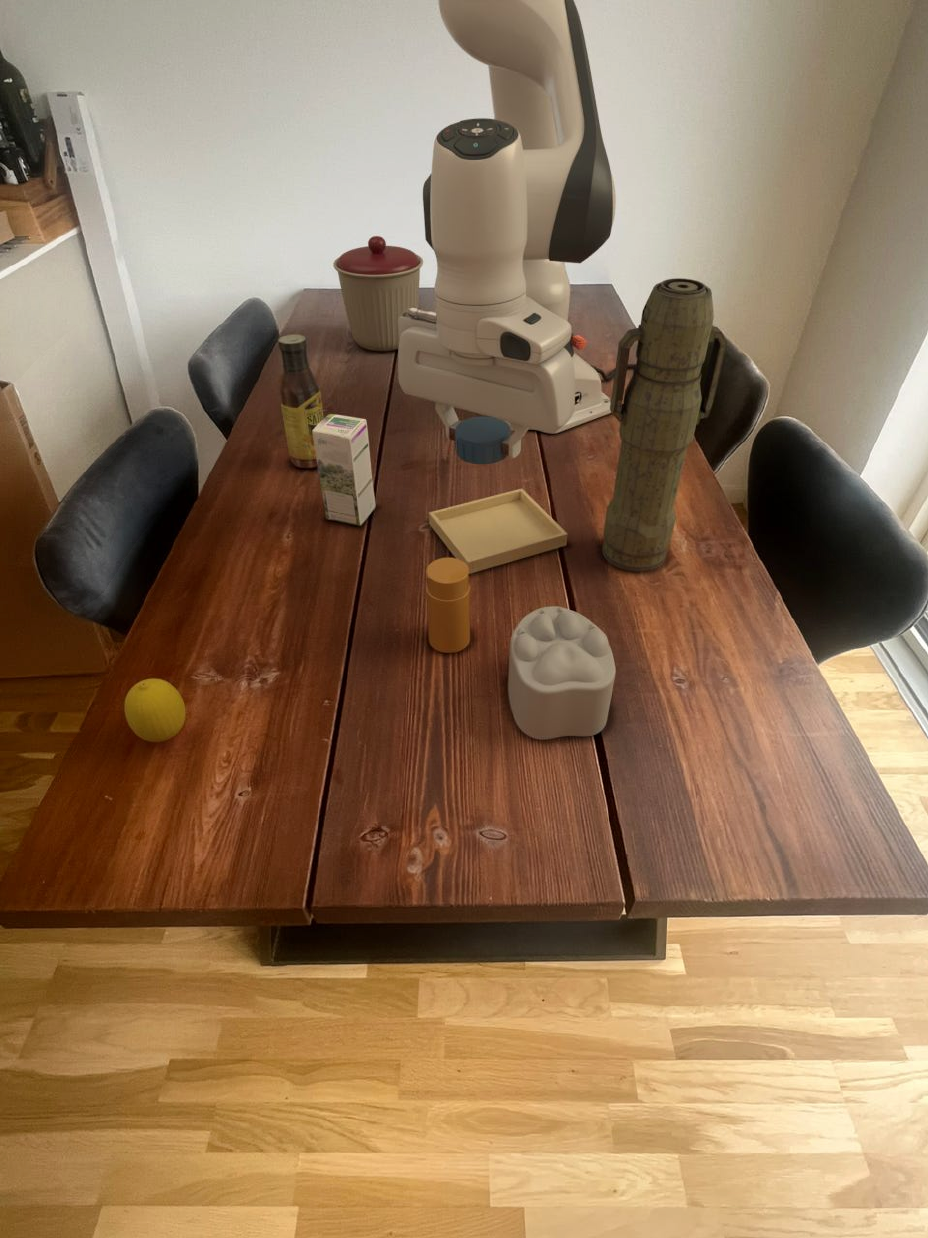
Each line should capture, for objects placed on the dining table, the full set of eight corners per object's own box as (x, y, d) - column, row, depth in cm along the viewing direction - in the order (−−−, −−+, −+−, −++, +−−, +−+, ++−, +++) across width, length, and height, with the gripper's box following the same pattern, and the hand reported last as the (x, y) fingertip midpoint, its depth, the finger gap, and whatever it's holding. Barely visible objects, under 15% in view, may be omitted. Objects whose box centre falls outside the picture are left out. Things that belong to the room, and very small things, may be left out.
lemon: (145, 718, 79) (122, 665, 73) (198, 714, 79) (178, 662, 74) (132, 759, 74) (106, 706, 69) (188, 755, 75) (166, 702, 70)
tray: (521, 499, 111) (521, 488, 110) (566, 545, 102) (567, 533, 101) (429, 523, 106) (428, 512, 105) (468, 574, 97) (468, 562, 96)
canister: (442, 337, 161) (439, 232, 147) (393, 365, 149) (385, 254, 135) (377, 322, 168) (368, 220, 154) (325, 348, 157) (311, 240, 143)
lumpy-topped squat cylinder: (517, 741, 76) (520, 683, 70) (500, 654, 86) (503, 597, 80) (615, 734, 77) (627, 676, 71) (588, 648, 86) (596, 591, 81)
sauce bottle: (321, 472, 117) (303, 349, 104) (285, 468, 118) (261, 346, 105) (335, 452, 122) (318, 332, 109) (299, 449, 123) (279, 329, 110)
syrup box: (377, 506, 110) (368, 416, 100) (360, 528, 105) (349, 436, 96) (342, 500, 111) (330, 410, 101) (324, 521, 107) (310, 429, 97)
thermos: (582, 538, 103) (615, 275, 80) (662, 530, 105) (717, 269, 82) (601, 576, 97) (643, 302, 73) (686, 567, 98) (754, 295, 75)
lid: (445, 455, 81) (443, 433, 80) (474, 433, 85) (474, 411, 83) (491, 470, 79) (491, 447, 77) (520, 446, 83) (520, 424, 81)
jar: (459, 620, 90) (458, 552, 83) (477, 645, 87) (477, 576, 80) (422, 632, 89) (418, 563, 82) (438, 658, 85) (436, 588, 78)
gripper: (378, 312, 75) (392, 435, 84) (555, 350, 66) (549, 483, 75) (415, 294, 79) (424, 413, 88) (587, 327, 70) (577, 456, 79)
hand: (483, 446), depth 82 cm, fingers closed on lid, 6 cm apart
